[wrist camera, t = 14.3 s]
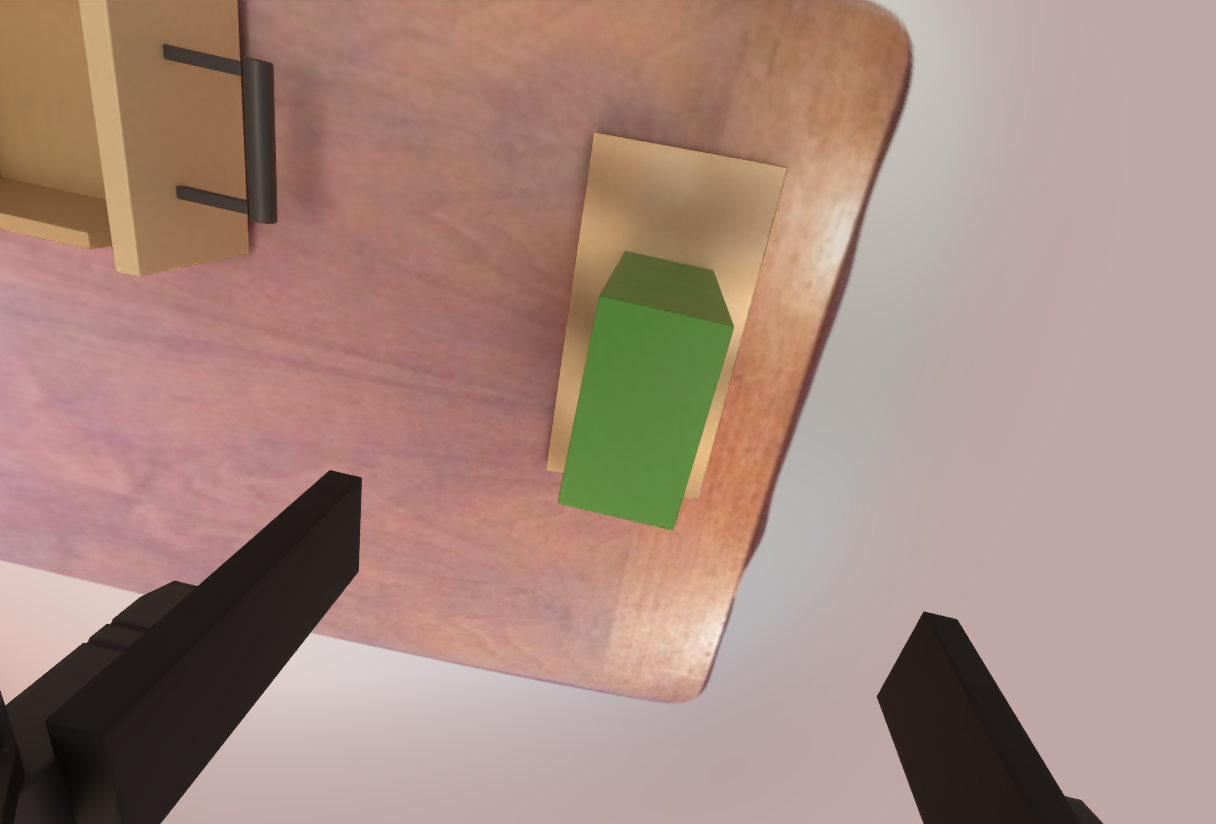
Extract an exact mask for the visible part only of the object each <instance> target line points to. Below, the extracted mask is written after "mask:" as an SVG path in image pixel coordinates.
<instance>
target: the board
mask: <svg viewBox="0 0 1216 824" xmlns="http://www.w3.org/2000/svg"><path fill="white" fill-rule="evenodd" d="M786 172H787V167H782V166H777V165H771V164H766V163H760V162H755V161H749V160H744V159H738V158H733V157H727V156H722V155H716V154H711V153H705V152H700V151H694V150H689V149H683V148H678V147H672V146H667V145H661V144H656V143H650V142H645V141H639V140H634V139H629V138H623V137H618V136H612V135H607V134H601V133H596V132H595V133H594V136H593V143H592V150H591V157H590V164H589V171H588V178H587V185H586V192H585V199H584V206H583V213H582V220H581V227H580V234H579V241H578V248H577V255H576V262H575V269H574V276H573V283H572V290H571V297H570V304H569V311H568V319H567V326H566V333H565V340H564V347H563V354H562V361H561V368H560V375H559V382H558V389H557V396H556V403H555V410H554V417H553V424H552V431H551V438H550V445H549V452H548V459H547V466H546V470H550V471H555V472H560V473H564V468H565V463H566V458H567V453H568V448H569V443H570V438H571V433H572V428H573V423H574V417H575V412H576V407H577V402H578V397H579V392H580V387H581V382H582V377H583V372H584V367H585V362H586V357H587V352H588V347H589V342H590V337H591V332H592V327H593V322H594V317H595V312H596V307H597V302H598V297H599V295H600V293H601V291H602V290H603V288H604V286H605V284H606V283H607V281H608V279H609V277H610V276H611V274H612V272H613V271H614V269H615V267H616V265H617V264H618V262H619V260H620V258H621V257H622V255H623V253H624V251H629V252H634V253H638V254H643V255H647V256H651V257H656V258H660V259H665V260H669V261H674V262H678V263H682V264H687V265H691V266H696V267H700V268H705V269H709V270H713V271H714V272H715V275H716V278H717V281H718V283H719V286H720V289H721V291H722V294H723V297H724V300H725V302H726V305H727V308H728V311H729V313H730V316H731V319H732V321H733V324H734V330H733V334H732V337H731V340H730V344H729V347H728V350H727V354H726V357H725V360H724V364H723V367H722V370H721V374H720V377H719V380H718V384H717V387H716V390H715V394H714V397H713V400H712V404H711V407H710V410H709V414H708V417H707V420H706V424H705V427H704V430H703V434H702V437H701V440H700V444H699V447H698V450H697V454H696V457H695V460H694V464H693V467H692V470H691V473H690V477H689V480H688V483H687V487H686V490H685V493H684V498H689V499H694V500H698V499H699V495H700V491H701V488H702V484H703V480H704V477H705V473H706V469H707V465H708V462H709V458H710V454H711V451H712V447H713V443H714V440H715V436H716V432H717V428H718V425H719V421H720V417H721V414H722V410H723V406H724V402H725V399H726V395H727V391H728V388H729V384H730V380H731V376H732V373H733V369H734V365H735V362H736V358H737V354H738V350H739V347H740V343H741V339H742V336H743V332H744V328H745V324H746V321H747V317H748V313H749V310H750V306H751V302H752V298H753V295H754V291H755V287H756V284H757V280H758V276H759V272H760V269H761V265H762V261H763V258H764V254H765V250H766V246H767V243H768V239H769V235H770V232H771V228H772V224H773V220H774V217H775V213H776V209H777V206H778V202H779V198H780V194H781V191H782V187H783V183H784V180H785V176H786Z"/></svg>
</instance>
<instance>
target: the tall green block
mask: <svg viewBox="0 0 1216 824" xmlns="http://www.w3.org/2000/svg"><path fill="white" fill-rule="evenodd" d="M733 330H734V324H733V321H732V319H731V316H730V313H729V311H728V308H727V305H726V302H725V300H724V297H723V294H722V291H721V289H720V286H719V283H718V281H717V278H716V275H715V272H714V271H713V270H709V269H705V268H700V267H696V266H691V265H687V264H682V263H678V262H674V261H669V260H665V259H660V258H656V257H651V256H647V255H643V254H638V253H634V252H629V251H624V253H623V255H622V257H621V258H620V260H619V262H618V264H617V265H616V267H615V269H614V271H613V272H612V274H611V276H610V277H609V279H608V281H607V283H606V284H605V286H604V288H603V290H602V291H601V293H600V295H599V297H598V302H597V307H596V312H595V317H594V322H593V327H592V332H591V337H590V342H589V347H588V352H587V357H586V362H585V367H584V372H583V377H582V382H581V387H580V392H579V397H578V402H577V407H576V412H575V417H574V423H573V428H572V433H571V438H570V443H569V448H568V453H567V458H566V463H565V468H564V473H563V478H562V483H561V488H560V493H559V498H558V504H562V505H566V506H570V507H574V508H579V509H583V510H587V511H592V512H596V513H600V514H604V515H609V516H613V517H617V518H622V519H626V520H630V521H634V522H639V523H643V524H647V525H651V526H656V527H660V528H664V529H669V530H674V527H675V523H676V520H677V517H678V513H679V510H680V507H681V503H682V500H683V497H684V493H685V490H686V487H687V483H688V480H689V477H690V473H691V470H692V467H693V464H694V460H695V457H696V454H697V450H698V447H699V444H700V440H701V437H702V434H703V430H704V427H705V424H706V420H707V417H708V414H709V410H710V407H711V404H712V400H713V397H714V394H715V390H716V387H717V384H718V380H719V377H720V374H721V370H722V367H723V364H724V360H725V357H726V354H727V350H728V347H729V344H730V340H731V337H732V334H733Z"/></svg>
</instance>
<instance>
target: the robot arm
mask: <svg viewBox="0 0 1216 824" xmlns="http://www.w3.org/2000/svg"><path fill="white" fill-rule="evenodd" d="M361 490H362V478H361V477H357V476H353V475H349V474H344V473H340V472H336V471H332V470H329V471H328V472H327V473H326V474H325V475H324V476H323V477H321V478H320V479H319V480H318V481H317V482H316V483H315V484H313V485H312V486H311V487H310V488H309V489H308V490H307V491H305V492H304V493H303V494H302V495H301V496H300V497H299V498H298V499H296V500H295V501H294V502H293V503H292V504H291V505H290V506H288V507H287V508H286V509H285V510H284V511H283V512H282V513H280V514H279V515H278V516H277V517H276V518H275V519H274V520H272V521H271V522H270V523H269V524H268V525H267V526H266V527H265V528H263V529H262V530H261V531H260V532H259V533H258V534H257V535H255V536H254V537H253V538H252V539H251V540H250V541H249V542H247V543H246V544H245V545H244V546H243V547H242V548H241V549H239V550H238V551H237V552H236V553H235V554H234V555H233V556H232V557H230V558H229V559H228V560H227V561H226V562H225V563H224V564H222V565H221V566H220V567H219V568H218V569H217V570H216V571H214V572H213V573H212V574H211V575H210V576H209V577H208V578H206V579H205V580H204V581H203V582H202V583H201V584H200V585H199V586H194V585H190V584H186V583H182V582H178V581H173V582H171V583H169V584H166V585H164V586H162V587H160V588H158V589H156V590H154V591H152V592H150V593H148V594H146V595H143V596H141V597H140V598H139V599H137V600H136V601H135V602H133V603H132V604H131V605H130V606H128V607H127V608H126V609H125V610H124V611H122V612H121V613H120V614H119V615H117V616H116V617H115V618H114V619H113V620H112V623H111V624H106V625H105V626H104V627H103V628H101V629H100V630H99V631H98V632H96V633H95V634H94V635H92V636H91V637H90V639H89V641H88V642H87V643H83V644H81V645H80V646H79V647H78V648H76V649H75V650H74V651H73V652H71V653H70V654H69V655H68V656H66V657H65V658H64V659H63V660H61V661H60V662H59V663H58V664H56V665H55V666H54V667H53V668H52V669H50V670H49V671H48V672H47V673H45V674H44V675H43V676H42V677H40V678H39V679H38V680H37V681H35V682H34V683H33V684H32V685H30V686H29V687H28V688H27V689H25V690H24V691H23V692H22V693H20V694H19V695H18V696H17V697H15V698H14V699H13V700H12V701H10V702H9V703H8V704H7V705H6V706H5V704H4V701H3V697H2V694H1V691H0V824H160V823H162V821H163V820H164V819H165V817H166V816H167V815H168V814H169V812H170V811H171V810H172V808H173V807H174V806H175V805H176V803H177V802H178V801H179V800H180V798H181V797H182V796H183V794H184V793H185V792H186V791H187V789H188V788H189V787H190V786H191V784H192V783H193V782H194V780H195V779H196V778H197V777H198V775H199V774H200V773H201V772H202V770H203V769H204V768H205V766H206V765H207V764H208V762H209V761H210V760H211V759H212V758H213V756H214V755H215V753H216V752H217V751H218V750H219V749H220V747H221V746H222V745H223V744H224V742H225V741H226V740H227V738H228V737H229V736H230V734H231V733H232V732H233V731H234V730H235V728H236V727H237V726H238V724H239V723H240V722H241V721H242V719H243V718H244V717H245V716H246V714H247V713H248V712H249V710H250V709H251V708H252V707H253V705H254V704H255V703H256V702H257V700H258V699H259V698H260V696H261V695H262V694H263V693H264V691H265V690H266V689H267V688H268V686H269V685H270V684H271V682H272V681H273V679H275V677H276V676H277V675H278V674H279V672H280V671H281V670H282V668H283V667H284V666H285V665H286V663H287V662H288V661H289V659H290V658H291V657H292V656H293V654H294V653H295V652H296V651H297V649H298V648H299V647H300V645H301V644H302V643H303V642H304V640H305V639H306V638H307V637H308V635H309V634H310V633H311V631H312V630H313V629H314V628H315V626H316V625H317V624H318V623H319V621H320V620H321V619H322V617H323V616H324V615H325V614H326V612H327V611H328V610H329V609H330V607H331V606H332V605H333V603H334V602H335V601H336V600H337V598H338V597H339V596H340V595H341V593H342V592H343V591H344V589H345V588H346V587H347V586H348V584H349V583H350V582H351V581H352V579H353V578H354V577H355V575H356V574H357V573H358V572H359V548H360V519H361ZM877 699H878V702H879V704H880V707H881V710H882V712H883V715H884V718H885V721H886V723H887V726H888V728H889V731H890V734H891V737H892V739H893V742H894V745H895V748H896V750H897V753H898V756H899V758H900V761H901V764H902V767H903V769H904V772H905V775H906V777H907V780H908V783H909V786H910V788H911V791H912V794H913V796H914V799H915V802H916V805H917V807H918V810H919V813H920V815H921V818H922V821H923V823H924V824H1103V823H1102V822H1101V821H1100V820H1099V819H1098V817H1097V816H1096V815H1095V814H1094V813H1093V812H1092V811H1091V810H1090V809H1089V808H1088V807H1087V806H1086V805H1085V804H1084V803H1083V801H1082V800H1079V799H1074V798H1070V797H1066V796H1064V794H1063V793H1062V791H1061V789H1060V788H1059V786H1058V785H1057V783H1056V781H1055V780H1054V778H1053V776H1052V775H1051V773H1050V771H1049V770H1048V768H1047V767H1046V765H1045V763H1044V761H1043V760H1042V758H1041V756H1040V755H1039V753H1038V751H1037V750H1036V748H1035V747H1034V745H1033V743H1032V742H1031V740H1030V738H1029V737H1028V735H1027V733H1026V732H1025V730H1024V728H1023V727H1022V725H1021V723H1020V722H1019V720H1018V719H1017V717H1016V715H1015V714H1014V712H1013V711H1012V709H1011V707H1010V706H1009V704H1008V702H1007V701H1006V699H1005V697H1004V696H1003V694H1002V692H1001V691H1000V689H999V687H998V686H997V684H996V682H995V681H994V679H993V677H992V676H991V674H990V673H989V671H988V669H987V668H986V666H985V664H984V663H983V661H982V659H981V658H980V656H979V654H978V653H977V651H976V649H975V648H974V646H973V644H972V643H971V641H970V640H969V638H968V636H967V635H966V633H965V631H964V630H963V628H962V626H961V625H960V623H959V621H958V620H957V619H953V618H949V617H945V616H941V615H936V614H932V613H928V612H923V614H922V616H921V617H920V619H919V621H918V623H917V625H916V627H915V628H914V630H913V632H912V634H911V635H910V637H909V639H908V641H907V643H906V644H905V646H904V648H903V650H902V652H901V654H900V656H899V657H898V659H897V661H896V663H895V664H894V666H893V668H892V670H891V672H890V674H889V675H888V677H887V679H886V681H885V683H884V684H883V686H882V688H881V690H880V692H879V693H878V695H877Z"/></svg>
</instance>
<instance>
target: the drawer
mask: <svg viewBox="0 0 1216 824" xmlns="http://www.w3.org/2000/svg"><path fill="white" fill-rule="evenodd" d="M241 76H243V90H244V113H245V135H246V157H247V179H248V200H247V197H246V175H245V153H244V132H243V110H242V88H241ZM247 214H249V219H250V220H251V221H254V222H258V223H265V224H274V223H277V221H278V220H277V182H276V144H275V106H274V68H273V64H272V63H270V62H266V61H262V60H257V59H253V58H248V57H242V61H240V45H239V23H238V2H237V0H0V229H3V230H7V231H12V232H16V233H20V234H25V235H29V236H33V237H38V238H42V239H47V240H51V241H55V242H60V243H64V244H68V245H73V246H77V247H81V248H86V249H96V248H103V247H110V246H112V247H113V255H114V262H115V269H116V271H118V272H122V273H126V274H131V275H135V276H144V275H148V274H153V273H158V272H163V271H168V270H172V269H177V268H182V267H187V266H191V265H196V264H201V263H206V262H210V261H215V260H220V259H225V258H230V257H234V256H239V255H244V254H248V253H249V240H248V218H247Z"/></svg>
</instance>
